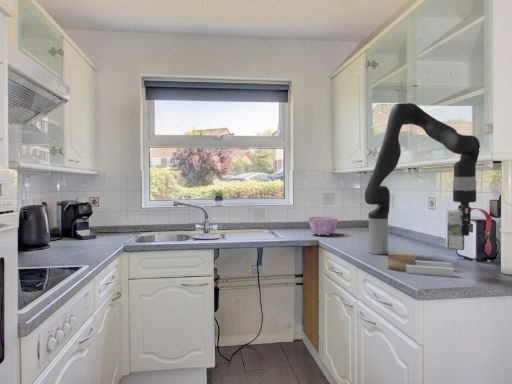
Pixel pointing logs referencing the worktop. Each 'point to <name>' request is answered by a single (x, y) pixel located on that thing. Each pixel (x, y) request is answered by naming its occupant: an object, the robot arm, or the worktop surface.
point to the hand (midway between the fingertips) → (464, 234)
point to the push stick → (400, 260)
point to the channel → (430, 268)
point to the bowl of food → (323, 225)
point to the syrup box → (454, 230)
